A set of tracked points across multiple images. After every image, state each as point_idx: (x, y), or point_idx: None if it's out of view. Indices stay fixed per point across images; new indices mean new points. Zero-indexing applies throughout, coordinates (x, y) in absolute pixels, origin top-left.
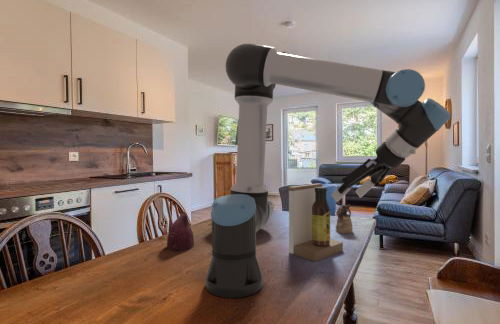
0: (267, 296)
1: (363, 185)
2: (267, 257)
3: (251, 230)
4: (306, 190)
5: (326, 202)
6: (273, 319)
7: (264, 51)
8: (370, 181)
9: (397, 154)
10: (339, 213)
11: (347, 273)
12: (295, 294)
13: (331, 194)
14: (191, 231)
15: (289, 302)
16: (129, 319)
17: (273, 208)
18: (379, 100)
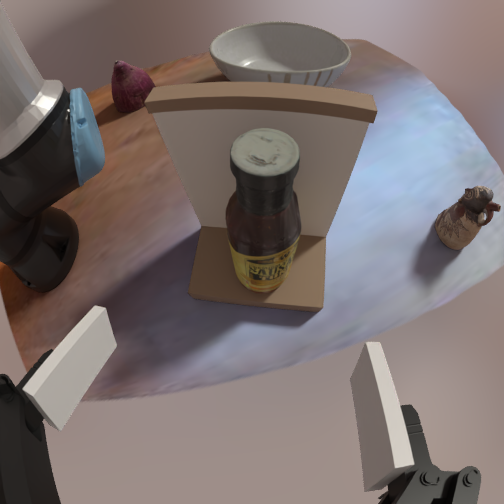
0: (41, 310)
1: (378, 413)
2: (158, 209)
3: None
4: (243, 114)
5: (266, 225)
6: (16, 345)
7: None
8: (383, 478)
9: None
10: (465, 199)
11: (178, 388)
12: (59, 341)
13: (92, 308)
14: (135, 86)
15: (42, 344)
16: None
17: (324, 76)
18: None
